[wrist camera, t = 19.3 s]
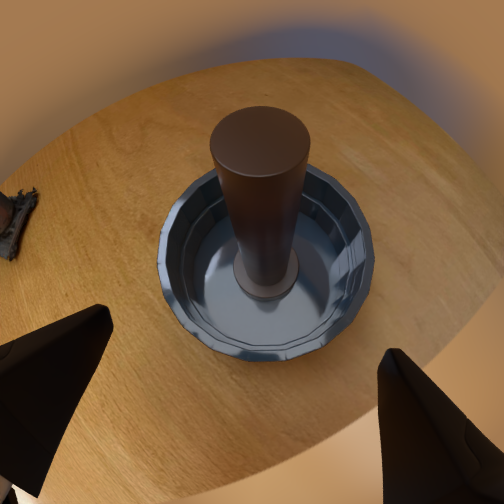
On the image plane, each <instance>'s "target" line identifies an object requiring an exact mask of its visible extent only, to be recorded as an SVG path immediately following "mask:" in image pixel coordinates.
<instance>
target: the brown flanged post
mask: <svg viewBox="0 0 504 504" xmlns="http://www.w3.org/2000/svg"><path fill="white" fill-rule="evenodd" d="M309 150H310V135H309V133H308V130H307V128H306V127H305V125H304V124H303V123H302V121H300V120H299V119H298V118H297V117H296V116H294V115H293V114H291V113H289V112H287V111H285V110H282V109H279V108H274V107H268V106H255V107H248V108H244V109H241V110H238V111H235V112H233V113H231V114H229V115H228V116H226V117H225V118H223V119H222V120H221V121H220V122H219V123H218V124H217V125H216V127H215V128H214V130H213V132H212V134H211V138H210V151H211V154H212V158H213V161H214V165H215V168H216V172H217V175H218V179H219V182H220V186H221V189H222V192H223V196H224V199H225V203H226V206H227V210H228V213H229V216H230V220H231V223H232V227H233V230H234V233H235V237H236V240H237V243H238V247H239V249H238V251H237V253H236V255H235V258H234V262H233V271H234V276H235V278H236V281H237V283H238V285H239V286H240V288H241V289H242V290H243V292H244V293H246V294H247V295H248V296H250V297H252V298H254V299H257V300H261V301H272V300H276V299H279V298H281V297H283V296H284V295H286V294H287V293H288V292H289V291H290V290H291V289H292V287H293V286H294V284H295V282H296V279H297V276H298V273H299V260H298V256H297V254H296V252H295V250H294V249H293V247H292V243H293V238H294V233H295V227H296V222H297V217H298V212H299V207H300V201H301V196H302V191H303V185H304V179H305V174H306V168H307V162H308V156H309Z"/></svg>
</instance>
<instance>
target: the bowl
mask: <svg viewBox="0 0 504 504" xmlns="http://www.w3.org/2000/svg"><path fill="white" fill-rule="evenodd" d="M292 247H293V249H294V250H295V252H296V254H297V256H298V260H299V273H298V276H297V279H296V282H295V284H294V286H293V287H292V289H291V290H290V291H289V292H288V293H287V294H286V295H284V296H283V297H281V298H279V299H276V300H272V301H261V300H257V299H254V298H252V297H250V296H248V295H247V294H246V293H244V292H243V290H242V289H241V288H240V286H239V285H238V283H237V281H236V278H235V276H234V271H233V262H234V258H235V255H236V253H237V251H238V249H239V247H238V243H237V240H236V237H235V233H234V230H233V227H232V223H231V220H230V216H229V213H228V210H227V206H226V203H225V199H224V196H223V192H222V189H221V186H220V182H219V179H218V175H217V172H216V168H214V169H213V170H211V171H210V172H208V173H206V174H205V175H203V176H202V177H200V178H199V179H197V180H195V181H194V182H193V183H192V184H191V185H190V186H189V187H188V188H187V189H186V191H185V192H184V193H183V194H182V195H181V196H180V197H179V198H178V200H177V201H176V202H175V203H174V205H173V206H172V208H171V210H170V212H169V214H168V216H167V218H166V221H165V223H164V225H163V227H162V230H161V232H160V239H159V247H158V256H157V269H158V274H159V278H160V283H161V287H162V292H163V296H164V298H165V300H166V301H167V303H168V305H169V306H170V308H171V310H172V311H173V313H174V314H175V316H176V318H177V319H178V321H179V322H180V324H181V325H182V326H183V328H185V329H186V330H187V331H188V332H190V333H191V334H192V335H193V336H195V337H196V338H197V339H198V340H200V341H201V342H202V343H203V344H205V345H206V346H207V347H209V348H210V349H212V350H214V351H217V352H220V353H223V354H226V355H229V356H232V357H235V358H238V359H241V360H244V361H248V362H272V361H286V360H287V361H288V360H291V359H294V358H297V357H299V356H302V355H305V354H307V353H310V352H313V351H315V350H318V349H320V348H322V347H324V346H325V345H327V344H328V343H329V342H330V341H331V340H333V339H334V338H335V337H336V336H337V335H339V334H340V333H341V332H342V331H343V330H344V329H346V328H347V327H348V326H349V325H350V324H351V323H352V322H353V320H354V318H355V317H356V315H357V313H358V311H359V310H360V308H361V306H362V304H363V303H364V301H365V299H366V297H367V296H368V294H369V290H370V285H371V280H372V274H373V268H374V262H375V260H374V259H375V256H374V250H373V243H372V237H371V231H370V228H369V225H368V223H367V221H366V219H365V217H364V215H363V213H362V211H361V209H360V207H359V205H358V203H357V201H356V200H355V198H354V197H353V196H352V195H351V194H350V193H349V192H348V191H347V190H346V189H345V188H344V187H343V186H342V185H341V184H340V183H339V182H338V181H337V180H336V179H335V178H333V177H332V176H330V175H328V174H326V173H325V172H323V171H321V170H319V169H317V168H316V167H314V166H312V165H310V164H307V168H306V174H305V179H304V185H303V191H302V196H301V201H300V207H299V212H298V217H297V222H296V227H295V233H294V238H293V243H292Z"/></svg>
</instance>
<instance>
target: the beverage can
mask: <svg viewBox="0 0 504 504" xmlns="http://www.w3.org/2000/svg"><path fill="white" fill-rule="evenodd" d="M23 190H24V189H23ZM22 192H23V191H22V190H20V191H19V192H18V194H19V195H18V196H17V197H16V196H14V197H13V196H11V197H10V196H9V197H6V196H5V195H4V194H3V193H2V192H0V255H1V257H4V258H5V259H7V256H8V255H9V257H10V261H11V260H12V259H13V258H14V257H15V256H16V249H17V248H18V246H17V242H16V241H18V238H19V231H20V229H22V227H23V225H25V224H26V221H27V219H28V218H27V216H26V214H28V213H30V209H32V208H34V207H35V204H36V200H37V199H36V198H37V197H36V196H35V195H33V196H35V197H36V198H35V197H33V196H32V194H33V193H35V192H36V193H37V190H36V189H35V188H34V187H33V191H32V192H28V193H26V195H25V197H24V195H21V194H22ZM3 255H4V256H3Z"/></svg>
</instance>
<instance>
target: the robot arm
mask: <svg viewBox="0 0 504 504" xmlns="http://www.w3.org/2000/svg"><path fill="white" fill-rule="evenodd" d="M112 332H113V322H112V318H111V315H110V311H109V308H108V307H107V306H104V305H101V304H95V305H93V306H91V307H88V308H86V309H84V310H81V311H79V312H77V313H74V314H72V315H70V316H67V317H65V318H63V319H60V320H58V321H56V322H54V323H51V324H49V325H47V326H44V327H42V328H40V329H37V330H35V331H33V332H31V333H28V334H26V335H24V336H21V337H19V338H17V339H15V340H12V341H10V342H8V343H6V344H3V345H1V346H0V504H18V501H17V497H16V494H15V490H14V489H13V488H12V487H11V486H12V485H13V484H14V485H16V486H17V487H19V488H21V489H22V490H24V491H25V492H27V493H29V494H31V495H32V496H34V497H36V498H38V496H39V494H40V491H41V489H42V486H43V483H44V481H45V478H46V475H47V473H48V470H49V468H50V465H51V463H52V460H53V458H54V455H55V453H56V451H57V448H58V446H59V444H60V442H61V439H62V437H63V435H64V433H65V430H66V428H67V426H68V424H69V422H70V420H71V418H72V416H73V414H74V411H75V409H76V407H77V405H78V403H79V401H80V399H81V397H82V395H83V393H84V392H85V390H86V388H87V386H88V384H89V382H90V380H91V378H92V376H93V374H94V373H95V371H96V369H97V367H98V364H99V362H100V360H101V358H102V355H103V353H104V350H105V348H106V346H107V343H108V341H109V339H110V337H111V334H112ZM377 380H378V419H379V428H380V440H381V453H382V471H383V504H504V453H503V452H502V451H501V450H500V449H498V448H497V447H496V446H495V445H494V444H493V443H492V442H491V441H490V440H489V439H488V438H487V437H485V435H483V434H482V432H481V431H480V430H479V429H478V428H477V427H476V426H475V425H474V424H473V423H472V422H471V421H470V420H469V419H468V418H467V417H466V415H465V414H464V413H463V412H462V411H461V410H460V409H459V408H458V407H457V406H456V405H455V404H454V403H453V402H452V401H451V400H450V399H449V398H448V396H447V395H446V394H445V393H444V392H443V391H442V390H441V389H440V388H439V387H438V386H437V385H436V384H435V383H434V382H433V381H432V380H431V379H430V378H429V377H428V376H427V375H426V374H425V373H424V372H423V371H422V370H421V369H420V368H419V367H418V366H417V365H416V364H415V363H414V362H413V361H412V360H411V359H410V358H409V357H408V356H407V355H406V354H405V353H404V352H403V351H402V350H401V349H399V348H389V349H387V351H386V352H385V354H384V356H383V358H382V360H381V362H380V364H379V366H378V370H377Z"/></svg>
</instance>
